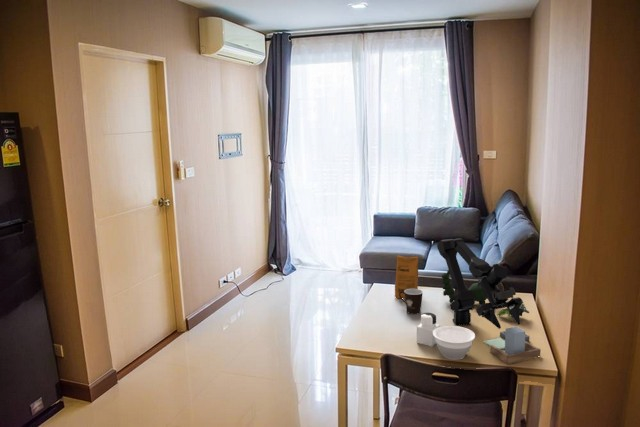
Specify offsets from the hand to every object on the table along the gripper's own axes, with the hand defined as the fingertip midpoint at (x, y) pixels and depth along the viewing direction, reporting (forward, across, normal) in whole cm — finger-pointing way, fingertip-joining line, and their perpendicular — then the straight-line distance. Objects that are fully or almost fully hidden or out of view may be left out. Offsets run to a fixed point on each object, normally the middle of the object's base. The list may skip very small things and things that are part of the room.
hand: (509, 326), depth 191 cm
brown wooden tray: (+9, 0, +5) cm, 11 cm away
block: (+9, 0, +5) cm, 11 cm away
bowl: (+3, -21, +12) cm, 24 cm away
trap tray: (+2, +10, +13) cm, 16 cm away
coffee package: (-43, -5, +57) cm, 72 cm away
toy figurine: (-28, +17, +42) cm, 53 cm away
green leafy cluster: (-10, +23, +25) cm, 36 cm away
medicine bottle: (-7, -24, +22) cm, 33 cm away
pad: (+3, 0, +12) cm, 12 cm away
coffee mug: (-30, -12, +45) cm, 56 cm away
